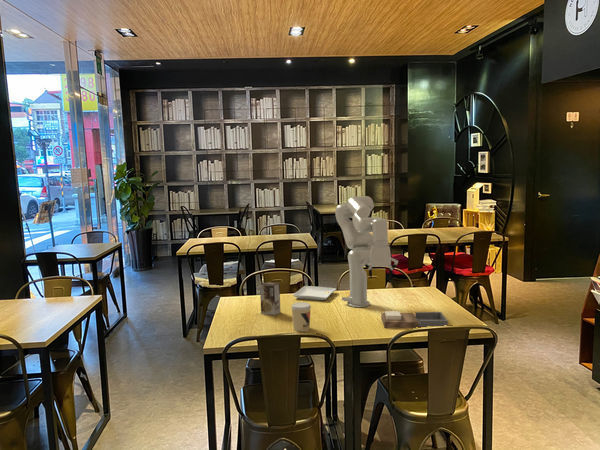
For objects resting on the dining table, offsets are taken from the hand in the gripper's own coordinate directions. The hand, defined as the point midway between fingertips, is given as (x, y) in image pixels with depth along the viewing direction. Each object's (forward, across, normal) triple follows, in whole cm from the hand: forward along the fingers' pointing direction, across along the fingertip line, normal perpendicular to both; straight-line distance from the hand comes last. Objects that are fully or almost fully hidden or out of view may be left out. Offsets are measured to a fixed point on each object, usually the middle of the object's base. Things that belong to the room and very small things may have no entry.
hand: (380, 277), depth 239 cm
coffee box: (+21, -59, +6) cm, 63 cm away
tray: (+22, +24, -1) cm, 33 cm away
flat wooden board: (+22, +9, -3) cm, 24 cm away
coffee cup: (+22, -38, -17) cm, 47 cm away
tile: (+19, +6, -3) cm, 20 cm away
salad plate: (+21, -40, +41) cm, 61 cm away
